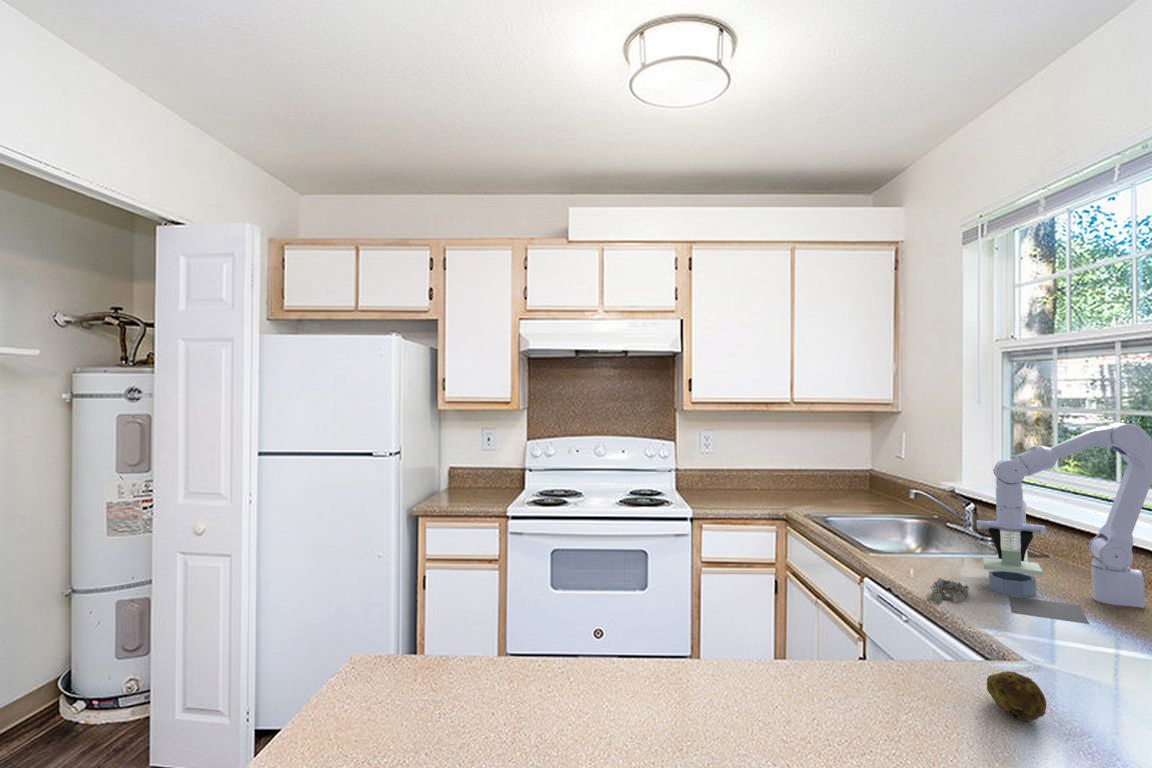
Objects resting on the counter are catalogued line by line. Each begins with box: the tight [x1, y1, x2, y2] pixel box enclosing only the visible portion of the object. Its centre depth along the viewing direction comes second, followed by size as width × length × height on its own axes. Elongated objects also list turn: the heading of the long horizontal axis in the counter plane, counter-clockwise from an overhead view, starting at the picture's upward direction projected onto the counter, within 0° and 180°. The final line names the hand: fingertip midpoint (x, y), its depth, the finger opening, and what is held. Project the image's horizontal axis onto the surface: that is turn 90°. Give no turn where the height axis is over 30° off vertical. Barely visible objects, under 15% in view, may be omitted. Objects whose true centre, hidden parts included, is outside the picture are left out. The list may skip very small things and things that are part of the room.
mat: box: [1008, 595, 1090, 625], centre depth 146 cm, size 14×14×1 cm
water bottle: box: [997, 500, 1029, 575], centre depth 173 cm, size 7×7×25 cm
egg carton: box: [929, 577, 970, 603], centre depth 157 cm, size 11×8×4 cm
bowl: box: [988, 570, 1037, 598], centre depth 160 cm, size 10×10×4 cm
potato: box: [986, 670, 1047, 722], centre depth 99 cm, size 8×13×8 cm, turn 140°
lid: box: [982, 548, 1044, 577], centre depth 160 cm, size 12×12×4 cm
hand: (1011, 559), depth 160 cm, fingers closed on lid, 4 cm apart
